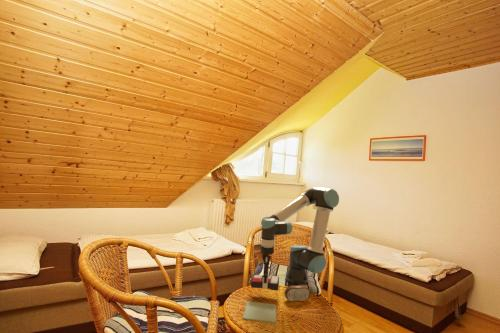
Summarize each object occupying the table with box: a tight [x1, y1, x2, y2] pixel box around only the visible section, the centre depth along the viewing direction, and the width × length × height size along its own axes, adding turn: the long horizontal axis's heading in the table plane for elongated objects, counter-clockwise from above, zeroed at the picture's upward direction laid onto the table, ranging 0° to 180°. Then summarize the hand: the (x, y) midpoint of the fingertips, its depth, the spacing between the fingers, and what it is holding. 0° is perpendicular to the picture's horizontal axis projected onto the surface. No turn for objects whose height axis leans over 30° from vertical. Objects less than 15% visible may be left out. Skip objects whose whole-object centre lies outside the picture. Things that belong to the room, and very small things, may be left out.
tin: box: [284, 284, 311, 302], centre depth 162 cm, size 15×3×8 cm, turn 105°
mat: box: [242, 300, 277, 324], centre depth 146 cm, size 16×18×1 cm
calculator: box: [250, 274, 280, 291], centre depth 164 cm, size 11×4×15 cm
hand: (265, 284), depth 164 cm, fingers closed on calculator, 11 cm apart
